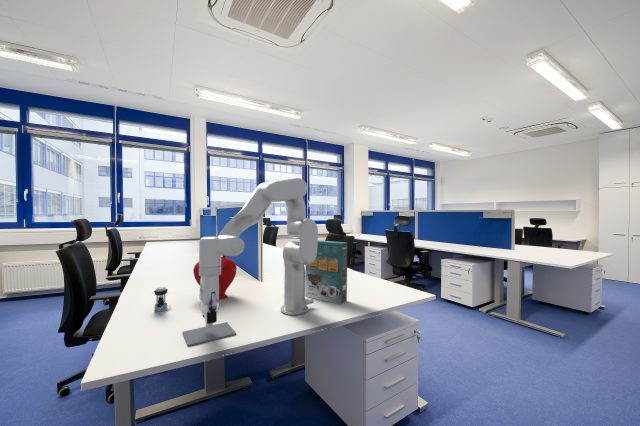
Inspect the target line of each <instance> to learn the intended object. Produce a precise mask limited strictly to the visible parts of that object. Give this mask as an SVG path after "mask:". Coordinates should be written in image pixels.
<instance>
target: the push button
mask: <svg viewBox="0 0 640 426" xmlns="http://www.w3.org/2000/svg"><path fill="white" fill-rule="evenodd" d="M168 291H169V289H168V288H166V287H164V286H162V287H161V286H160V287H157V288H155V290H153V293H154V296H156V297H155V298H156V300H155V301H156V302H155V304H154V309H153V311H154V312H163V311H167V310H168V309H171V305H168V303H167V302H166V294H168Z"/></svg>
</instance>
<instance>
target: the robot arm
mask: <svg viewBox="0 0 640 426" xmlns="http://www.w3.org/2000/svg"><path fill="white" fill-rule="evenodd" d="M307 193H308V185H307V182H306V181H305V180H304V179H302V178H300V177H295V178H290V179H283V180H273V181H266V182H261V183H260V184H259V185H257V187H256V188H255V190H254V191H253V193H251V196H250V197H249V198H248V200H247V201H246V203H245V204H244V205H243V207H242V208H241V209H240V210H239V211H238V212H237V213H236V214H235V215H234V216H233V217H232V218H231V219H230V220H229V221H228V222H227V223H226V224H225V225H224V227H223V228H222V230H221V231H220V232H219V234H218V235H217V236H204V237H201V238H200V239H199V243H198V247H199V248H198V249H199V251H198V258H199V259H198V262H199V276H201V280H200V286H199V300H200V301H201V303H203V304H204V305H206V304H208V312H207V324H210V323H213V324H214V323H217V321H218V319H217V318H218V317H217V316H218V315H217V314H218V310H217V303H219V301H220V300H219V276H218V275H220V274H221V257H222V256H228V257H234V256H235V257H236V256H239V255H240V254H242V252H243V251H244V250H245V242H244V241H243V239H242V238H241V237H240V235H241V234H242V233H243V232H244V231H246V230H247V229H248V228H250V227H252V226H254V225H256V224H258V223H259V222H260V221H261V219H262V218H263V216H264V215H265V213H266V211H267V210H268V209H269V207H270V206H271V204H272V203H279V202H284V203H285V205H286V208H287V210H286V211H287V213H286V217H287V218H286V219H287V220H286V233H287V235H288V236H289V237H290V238H292V239H295V240H296V239H298V240H299V241H295V240H293V241H288V242H287V243H286V244H285V245H284V246H283V249H282V258H283V265H284V268H283V269H284V277H283V278H284V279H283V280H284V288H283V289H284V291H283V292H284V293H283V294H284V295H283V299H284V301H283V305H281V306H280V312H281V313H283V314H284V315H289V316H297V315H302V314H303V315H304V314H305V313H308V311H309V307H308V306H309V305H312V304H314V303H315V301H314V298H310V299H309V298H306V297H305V272H306V265H310V264H312V263H313V262H314V261H315V259H316V256H317V247H318V240H319V229H318V225H317V223H316V222H315V220H314V219H311V218H309V217H307V215H306V214H307V211H306V210H307V207H306V203H305V201H304V199H303V197H304V196H305V195H306V194H307ZM211 301H212V303H209V302H211ZM210 305H212V306H211V307H210ZM202 318H204V319H205V317H204V315H203V314H202Z"/></svg>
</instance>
